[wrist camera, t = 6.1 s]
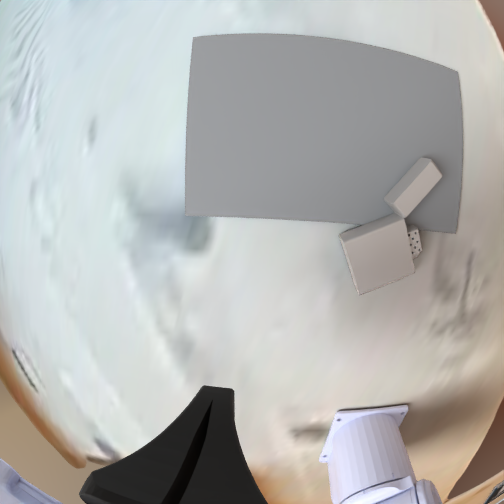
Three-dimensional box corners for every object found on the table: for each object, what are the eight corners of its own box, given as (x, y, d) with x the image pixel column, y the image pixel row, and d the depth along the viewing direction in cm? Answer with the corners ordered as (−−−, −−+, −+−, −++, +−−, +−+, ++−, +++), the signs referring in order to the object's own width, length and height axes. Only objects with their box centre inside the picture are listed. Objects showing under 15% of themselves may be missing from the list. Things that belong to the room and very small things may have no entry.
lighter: (354, 284, 20) (445, 246, 18) (359, 296, 18) (456, 254, 16) (323, 192, 18) (426, 155, 16) (328, 197, 16) (439, 157, 14)
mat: (453, 232, 18) (455, 233, 18) (187, 214, 19) (185, 215, 19) (455, 72, 14) (457, 71, 14) (194, 39, 16) (193, 37, 15)
